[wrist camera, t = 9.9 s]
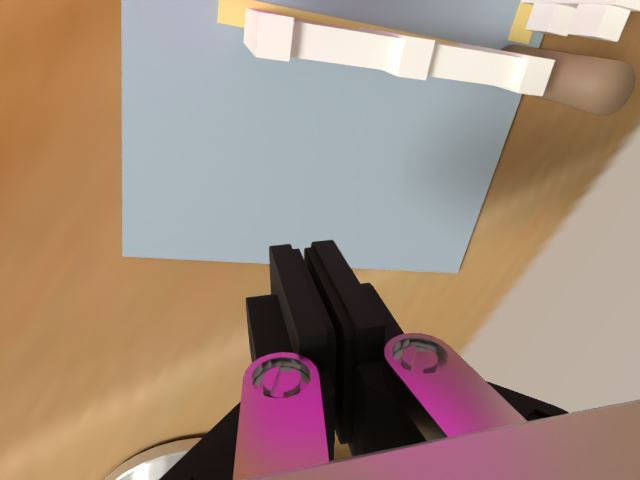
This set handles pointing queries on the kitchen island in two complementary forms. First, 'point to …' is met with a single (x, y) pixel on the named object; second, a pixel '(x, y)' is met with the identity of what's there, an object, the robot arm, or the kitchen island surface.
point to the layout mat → (307, 135)
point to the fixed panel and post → (580, 70)
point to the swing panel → (393, 53)
